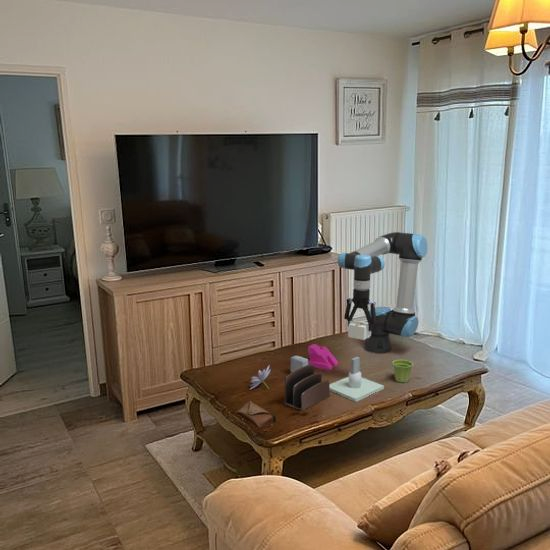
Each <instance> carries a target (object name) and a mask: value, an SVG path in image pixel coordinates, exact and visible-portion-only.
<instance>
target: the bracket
mask: <svg viewBox="0 0 550 550" xmlns="http://www.w3.org/2000/svg"><path fill="white" fill-rule="evenodd" d="M307 350H308V351H307V353H308V354H309V360H308V365H311V364H313V365H314V369H322V370H325V371H329V370H330V371H331V370H332V369H333V367H334V366H335V367H337V365H339V361H338V360H337V359H336V357H335V356H334V355H333V354H332V353H331V351H330V350H329V348H327V347H326V346H320V345H318V344H315V343H313V344H311V345H309V346H308V349H307Z"/></svg>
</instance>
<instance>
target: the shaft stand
mask: <svg viewBox="0 0 550 550" xmlns="http://www.w3.org/2000/svg"><path fill="white" fill-rule="evenodd" d="M360 360H361V359H360V357H358V356H355V357H353V358H351V361H350V371H349V372H348V376H347V377H346V376H345V377H343V378H342V379H340V380H337V381H334V382H332V383H329V386H330V393H333V392H334V393H333V394H336V393H337V394H336V395H338V394H339V395H338V396H340V395H341V396H340V397H343V398H345V397H346V399H347V398H348V400H350V401H353V402H355V403H356V402H358V401H361V400H363V399H366V398H367V397H369V395H370V396H371V394H372V395H374V394H376V393H378V392H380V391H382V390H384V389H385V385H383V384H380V383H378V382H376V381H373V380H370V379H368V378H365V377H362V371H360V365H361V364H360V363H361V362H360ZM375 392H376V393H375ZM373 393H374V394H373Z"/></svg>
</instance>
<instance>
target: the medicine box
mask: <svg viewBox="0 0 550 550" xmlns="http://www.w3.org/2000/svg"><path fill="white" fill-rule="evenodd" d="M308 361H309V359H308V358H305V357H303V356H300V355H293V356H292V357H290V373H292V372H294V371H296V370H298V369H300V368H302V367H304V366H307V365H308Z"/></svg>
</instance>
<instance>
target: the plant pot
mask: <svg viewBox="0 0 550 550" xmlns="http://www.w3.org/2000/svg"><path fill="white" fill-rule="evenodd" d="M392 365H393V368H394V381H396V382H397V383H407V382H409V379H410V374H411V370H412V368H413V366H414V364H413V362H412V361H409V360H405V359H395V360H393V361H392Z"/></svg>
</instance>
